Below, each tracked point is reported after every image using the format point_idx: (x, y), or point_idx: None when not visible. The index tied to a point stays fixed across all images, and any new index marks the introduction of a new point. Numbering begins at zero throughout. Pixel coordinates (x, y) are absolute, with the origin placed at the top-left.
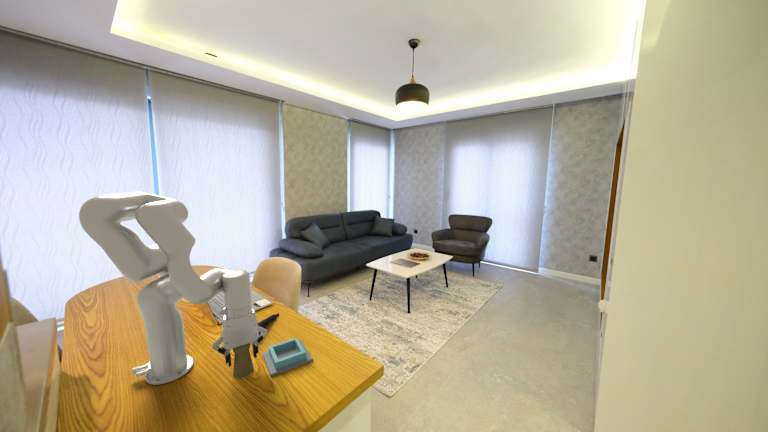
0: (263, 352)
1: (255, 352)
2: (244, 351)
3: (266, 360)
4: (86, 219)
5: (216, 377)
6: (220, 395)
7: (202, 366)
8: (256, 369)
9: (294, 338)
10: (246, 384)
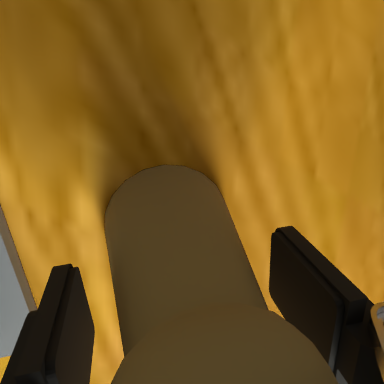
0: None
1: (50, 309)
2: (186, 321)
3: (3, 264)
4: None
5: (306, 226)
6: (312, 51)
7: None
8: (82, 209)
9: None
10: (151, 76)
